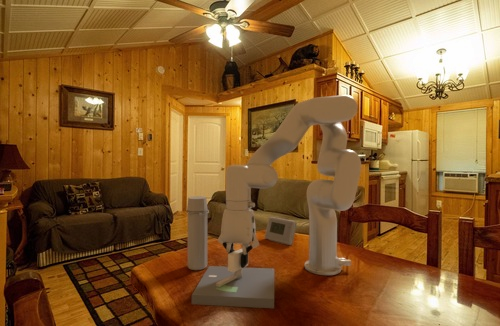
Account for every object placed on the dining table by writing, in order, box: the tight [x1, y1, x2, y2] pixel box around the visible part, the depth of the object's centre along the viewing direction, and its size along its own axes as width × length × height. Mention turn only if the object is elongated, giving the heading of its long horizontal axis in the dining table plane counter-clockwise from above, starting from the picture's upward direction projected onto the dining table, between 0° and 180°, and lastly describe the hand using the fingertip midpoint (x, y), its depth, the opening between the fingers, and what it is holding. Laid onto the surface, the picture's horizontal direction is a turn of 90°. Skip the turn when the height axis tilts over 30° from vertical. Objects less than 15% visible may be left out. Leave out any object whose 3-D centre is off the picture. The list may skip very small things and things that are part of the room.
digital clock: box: [264, 216, 298, 246], centre depth 131 cm, size 16×9×11 cm, turn 34°
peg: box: [216, 248, 249, 287], centre depth 83 cm, size 12×2×8 cm, turn 142°
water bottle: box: [185, 195, 210, 271], centre depth 99 cm, size 9×8×25 cm
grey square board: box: [191, 265, 275, 309], centre depth 83 cm, size 22×20×3 cm
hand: (237, 264), depth 85 cm, fingers closed on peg, 3 cm apart
